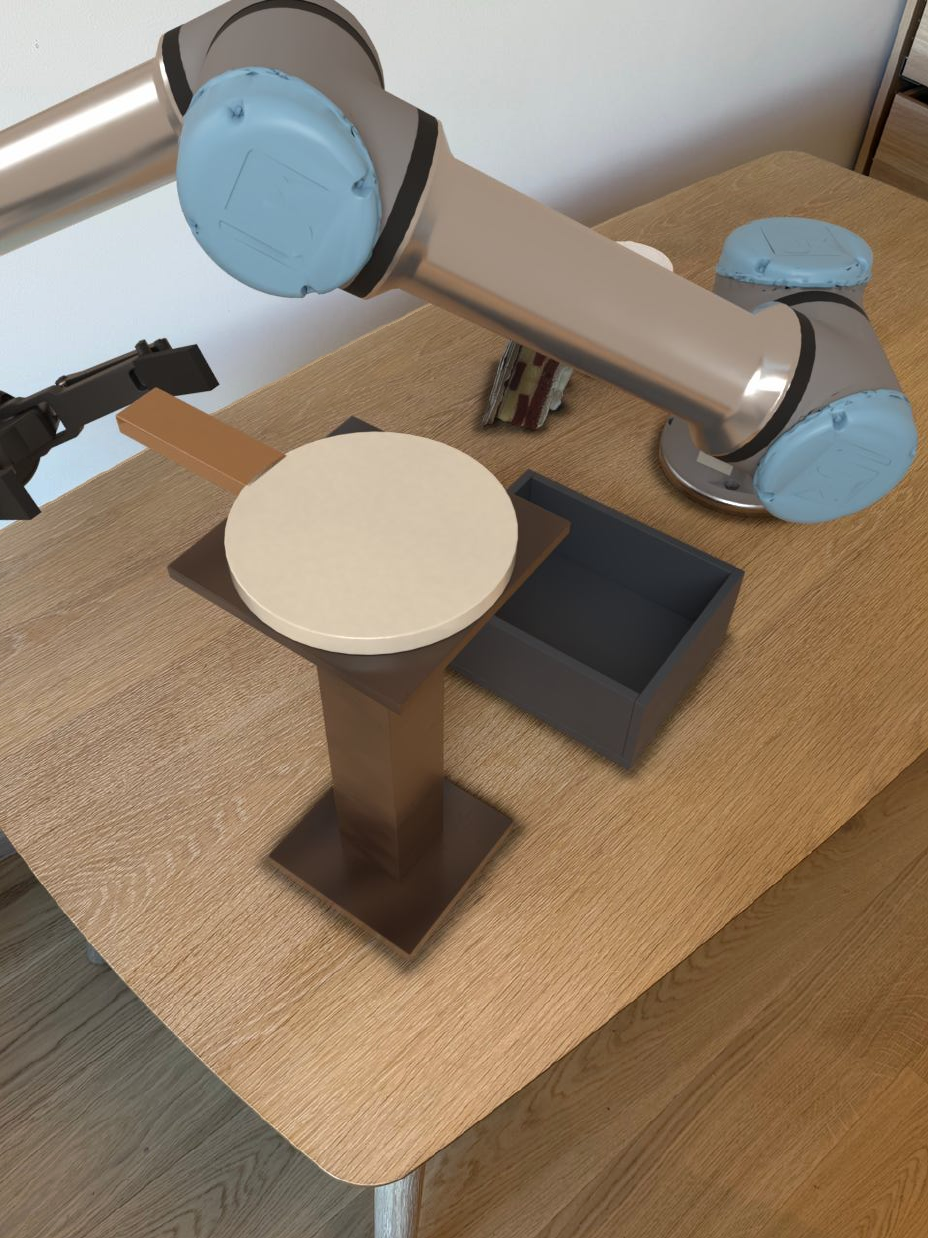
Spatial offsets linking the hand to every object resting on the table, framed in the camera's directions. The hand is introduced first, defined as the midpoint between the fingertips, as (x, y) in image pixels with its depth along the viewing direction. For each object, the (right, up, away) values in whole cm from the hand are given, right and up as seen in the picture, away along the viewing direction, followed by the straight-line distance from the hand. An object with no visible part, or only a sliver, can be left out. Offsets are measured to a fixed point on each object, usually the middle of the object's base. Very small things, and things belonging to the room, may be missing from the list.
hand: (118, 427), depth 61 cm
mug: (+35, +17, +53) cm, 66 cm away
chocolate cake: (+26, +11, +47) cm, 55 cm away
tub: (+28, -13, +27) cm, 41 cm away
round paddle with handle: (+11, -5, -6) cm, 14 cm away
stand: (+14, -26, +15) cm, 34 cm away
